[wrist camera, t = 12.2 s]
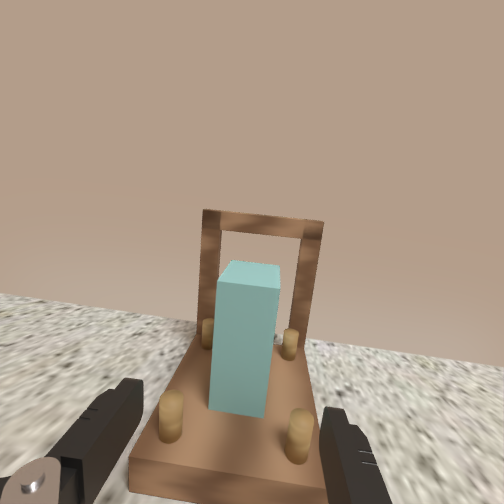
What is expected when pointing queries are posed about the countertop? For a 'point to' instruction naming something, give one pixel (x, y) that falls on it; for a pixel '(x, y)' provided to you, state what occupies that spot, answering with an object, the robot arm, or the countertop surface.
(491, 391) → the countertop surface
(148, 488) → the peg shelf
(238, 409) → the teal block
